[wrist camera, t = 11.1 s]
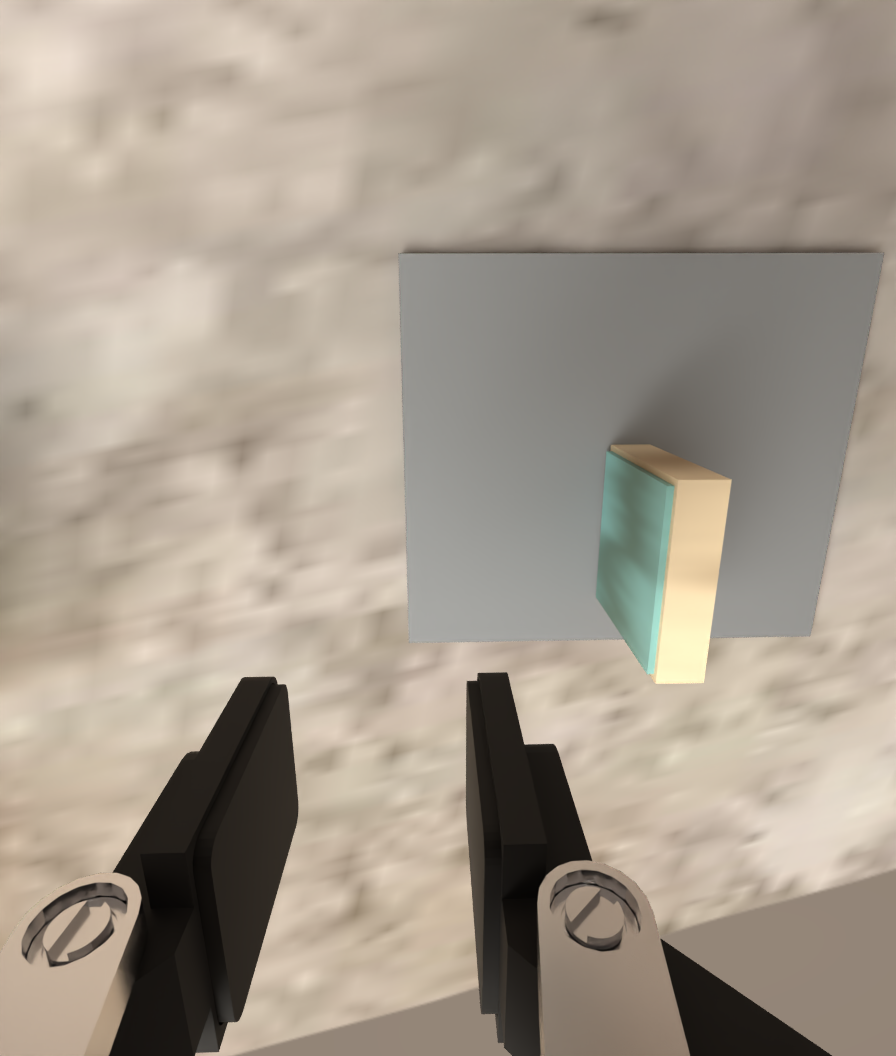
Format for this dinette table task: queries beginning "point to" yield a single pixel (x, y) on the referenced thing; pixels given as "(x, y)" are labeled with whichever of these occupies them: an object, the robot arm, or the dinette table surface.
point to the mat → (620, 425)
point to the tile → (661, 557)
